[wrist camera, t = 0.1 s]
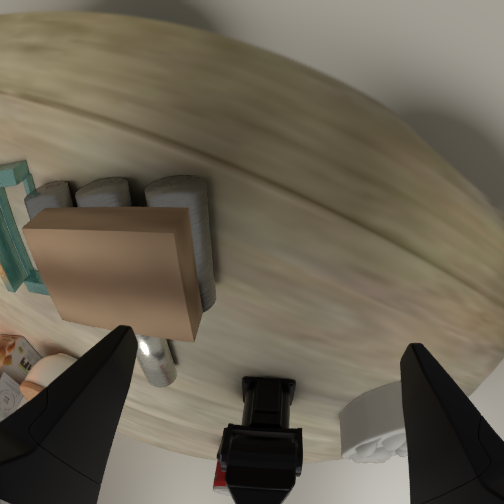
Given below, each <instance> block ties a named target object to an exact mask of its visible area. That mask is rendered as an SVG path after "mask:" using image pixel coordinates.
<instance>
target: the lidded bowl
mask: <svg viewBox="0 0 504 504" xmlns="http://www.w3.org/2000/svg"><path fill="white" fill-rule="evenodd" d="M77 360H78V359H76V358H74V357H72V356H70V355H68V354H65V353H58V354H57V355H51V356H46V357H44V358H42V359H41V360H39V361H38V362H37V363H36V364H35V365H34V366H33V367H32V368H31V370H30V371H29V373H28V374H27V376H26V378H25V380H24V381H23V382H22V383H21V385H20V387H19V388H20V392H21V393H22V395H23V396H24V397H25V399H26V400H28V401H30V400H31V399H32V398H33V397H35V396H36V395H37V394H38V393H39V392H41V391H42V390H43V389H44V388H45V387H46V386H47V387H48V385H49V384H50V383H51V382H52V381H53V380H55V379H56V378H57V377H58V376H59V375H60V374H62V373H63V372H64V371H65V370H66V369H67V368H69V367H70V366H71V365H72V364H73V363H74V362H76V361H77Z"/></svg>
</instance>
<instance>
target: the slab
mask: <svg viewBox="0 0 504 504" xmlns="http://www.w3.org/2000/svg"><path fill="white" fill-rule="evenodd" d="M22 231H23V234H24V236H25V239H26V242H27V244H28V247H29V249H30V252H31V254H32V257H33V259H34V262H35V264H36V266H37V269H38V271H39V273H40V275H41V278H42V280H43V282H44V284H45V286H46V288H47V291H48V293H49V295H50V297H51V299H52V301H53V303H54V305H55V307H56V309H57V311H58V313H59V314H60V316H61V318H62V320H65V321H69V322H74V323H78V324H83V325H88V326H93V327H98V328H103V329H109V330H114V329H115V328H116V327H117V326H119V325H127V326H131V327H132V328H133V331H134V333H135V334H138V335H144V336H150V337H157V338H164V339H171V340H179V341H187V342H194V341H195V338H196V334H197V331H198V327H199V324H200V321H201V317H202V314H203V311H202V304H201V298H200V291H199V284H198V277H197V270H196V263H195V255H194V247H193V239H192V231H191V222H190V214H189V208H184V207H67V208H44V209H43V210H42V211H41V212H40V213H38V214H37V215H36V216H35V217H34V218H33V219H32V220H30V221H29V222H28V223H27V224H26V225H25V226H24V227H23V228H22Z"/></svg>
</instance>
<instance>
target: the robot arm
mask: <svg viewBox="0 0 504 504" xmlns="http://www.w3.org/2000/svg"><path fill="white" fill-rule="evenodd" d="M137 350H138V341H137V338H136V336H135V333H134V331H133V328H132V327H131V326H127V325H119V326H117V327H116V328H115V329H114V330H113V331H111V332H110V333H109V334H108V335H107V336H105V337H104V338H103V339H102V340H101V341H99V342H98V343H97V344H96V345H95V346H93V347H92V348H91V349H90V350H89V351H87V352H86V353H85V354H84V355H83V356H81V357H80V358H79V359H78V360H77V361H76V362H74V363H73V364H72V365H71V366H70V367H69V368H67V369H66V370H65V371H64V372H63V373H62V374H60V375H59V376H58V377H57V378H56V379H55V380H53V381H52V382H51V383H50V384H49V385H48V387H47V386H46V387H45V388H44V389H43V390H42V391H41V392H39V393H38V394H37V395H36V396H35V397H33V398H32V399H31V400H30V401H28V402H27V403H26V404H24V405H23V406H22V407H21V408H19V409H18V410H16V411H15V412H13V413H12V414H10V415H9V416H8V417H6V418H5V419H3V420H2V421H1V422H0V504H97V500H98V495H99V491H100V487H101V483H102V479H103V475H104V471H105V467H106V464H107V460H108V456H109V453H110V449H111V446H112V442H113V439H114V435H115V432H116V429H117V425H118V422H119V419H120V416H121V412H122V409H123V406H124V403H125V400H126V397H127V394H128V390H129V387H130V383H131V378H132V373H133V369H134V364H135V359H136V355H137ZM400 370H401V391H402V408H403V416H404V424H405V432H406V442H407V452H408V463H409V479H410V504H504V441H503V440H502V439H501V438H500V437H499V436H498V434H497V433H496V432H495V431H494V430H493V428H492V427H491V426H490V425H489V424H488V422H487V421H486V420H485V419H484V417H483V416H481V413H480V412H479V411H478V410H477V408H476V407H475V406H474V405H473V404H472V402H471V401H470V400H469V398H468V397H467V396H466V395H465V394H464V392H463V391H462V390H461V389H460V387H459V386H458V385H457V384H456V383H455V381H454V380H453V379H452V378H451V377H450V375H449V374H448V373H447V372H446V371H445V370H444V368H443V367H442V366H441V365H440V364H439V363H438V361H437V360H436V359H435V358H434V357H433V356H432V354H431V353H430V352H429V351H428V350H427V349H426V348H425V347H424V345H423V344H421V343H410V344H409V345H408V347H407V349H406V350H405V352H404V354H403V356H402V358H401V361H400ZM295 386H296V382H295V381H294V380H276V379H261V378H248V377H245V378H243V380H242V388H243V402H244V410H243V418H242V425H234V424H231V423H229V424H228V427H227V428H224V431H223V437H222V441H221V444H220V447H219V450H218V453H217V459H218V460H219V462H220V466H221V471H224V472H225V482H226V485H227V488H228V490H229V492H230V494H231V496H232V498H233V500H234V502H235V504H282V503H283V502H284V500H285V499H286V498H287V496H288V495H289V494H290V492H291V490H292V488H293V487H294V485H295V480H296V476H297V477H299V476H300V475H301V471H302V463H303V444H302V428H297V429H293V428H289V416H290V406H291V404H292V400H293V395H294V391H295Z"/></svg>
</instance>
